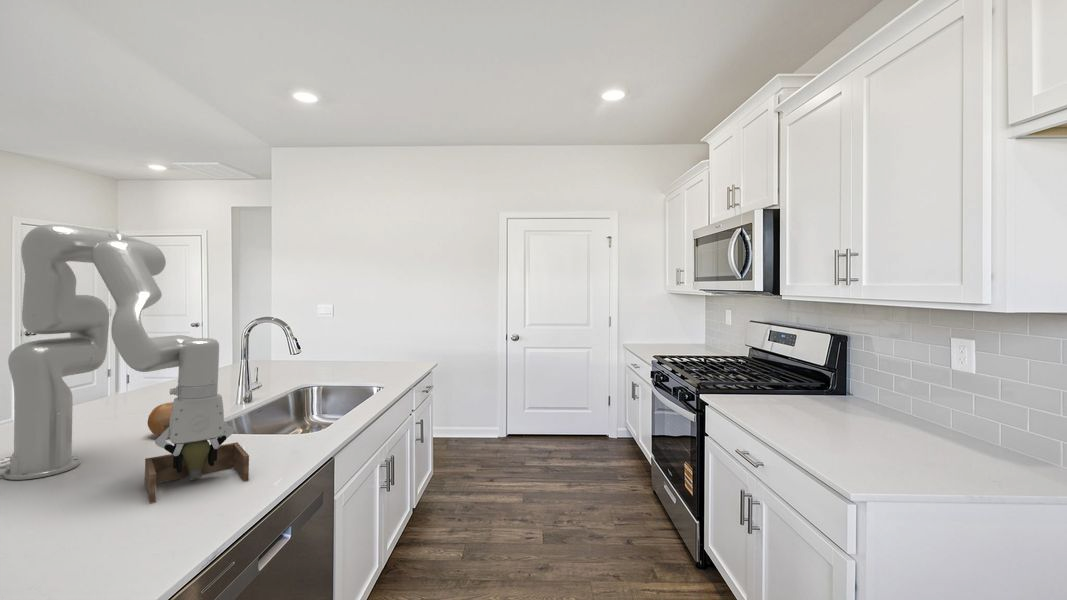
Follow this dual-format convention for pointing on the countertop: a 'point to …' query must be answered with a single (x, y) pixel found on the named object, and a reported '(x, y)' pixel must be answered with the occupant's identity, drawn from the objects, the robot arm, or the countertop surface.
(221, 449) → the brown legged wooden frame
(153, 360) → the robot arm
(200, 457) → the light bulb
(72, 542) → the countertop surface
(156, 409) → the onion
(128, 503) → the countertop surface
